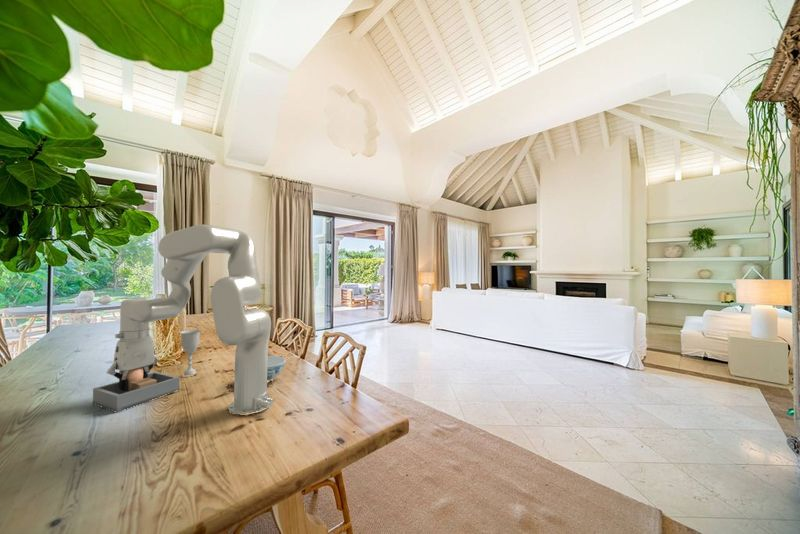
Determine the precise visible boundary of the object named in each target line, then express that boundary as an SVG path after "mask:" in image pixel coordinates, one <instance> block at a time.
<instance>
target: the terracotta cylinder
mask: <svg viewBox="0 0 800 534" xmlns="http://www.w3.org/2000/svg"><path fill="white" fill-rule="evenodd" d="M126 379H128V390H127V391H125V392H130V386H131V382H134V381H138V380H141V379H143V367H141V368H137V369H133V370H129V371H128V374H127V377H126Z"/></svg>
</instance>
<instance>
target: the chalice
mask: <svg viewBox="0 0 800 534" xmlns="http://www.w3.org/2000/svg"><path fill="white" fill-rule="evenodd" d="M201 332H202V330H201V329H188V330H182V331H180V332H179V333H180V335H181V337H180V342H181V343H180V344H181V347H182V349H183V352H184V353H185V354H186V355H188V357H187V360H188V362H187V365H188V367H187V369H185V370H184V372H183V374H184V375H185V376H186V375H193V374H195V373H197V371H196V369H195V368H193V367H192V364H193V362H192V361H193V357H192V355H193V354H194V353H195V352H196V350H197V349H198V347H199V345H200V337H201V336H200V334H201Z"/></svg>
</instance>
